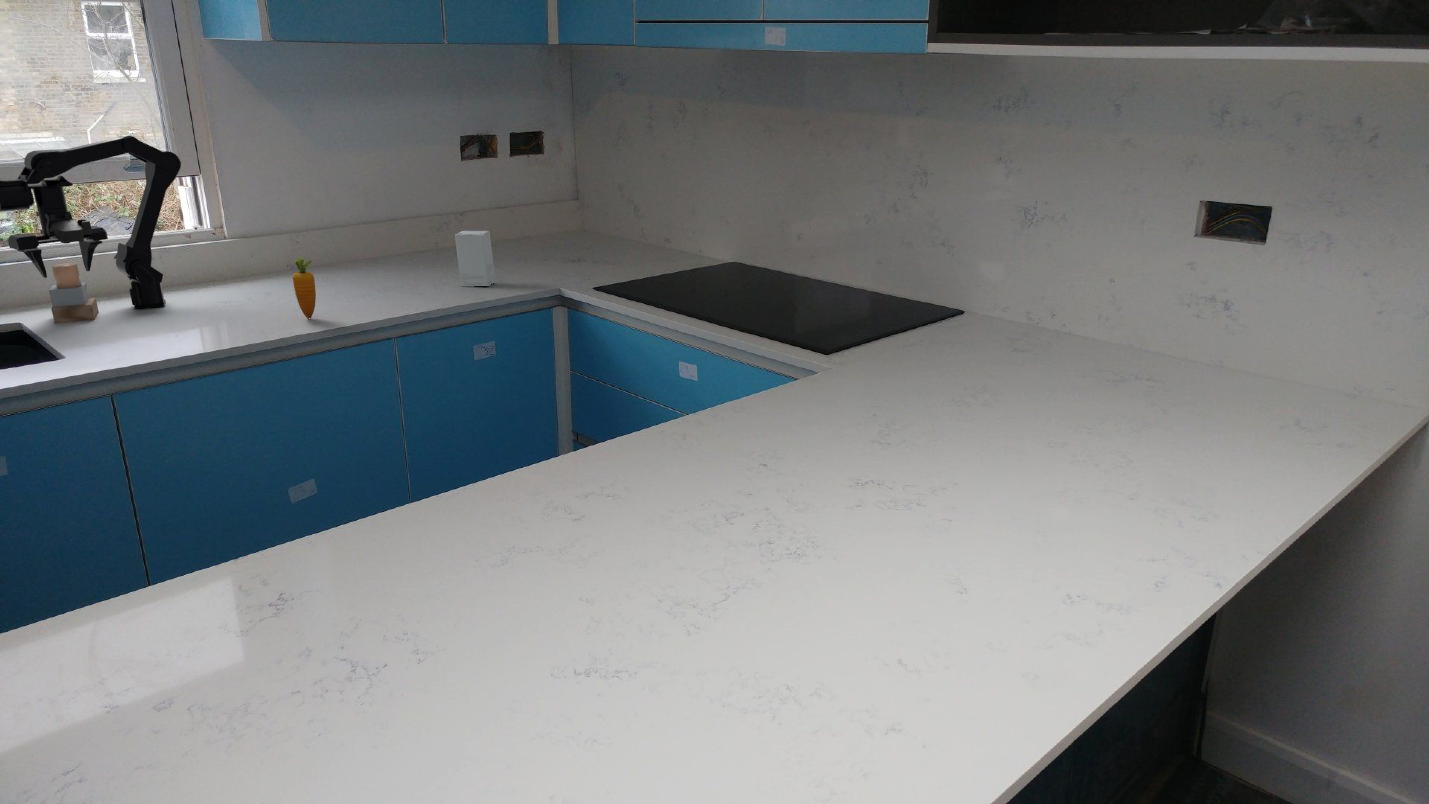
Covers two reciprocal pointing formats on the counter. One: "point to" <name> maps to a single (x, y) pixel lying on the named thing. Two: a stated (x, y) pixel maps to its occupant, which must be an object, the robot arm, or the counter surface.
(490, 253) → the skincare box
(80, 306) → the walnut slab
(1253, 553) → the counter surface
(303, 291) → the carrot
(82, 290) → the slate slab
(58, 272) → the terracotta cylinder
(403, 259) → the counter surface
